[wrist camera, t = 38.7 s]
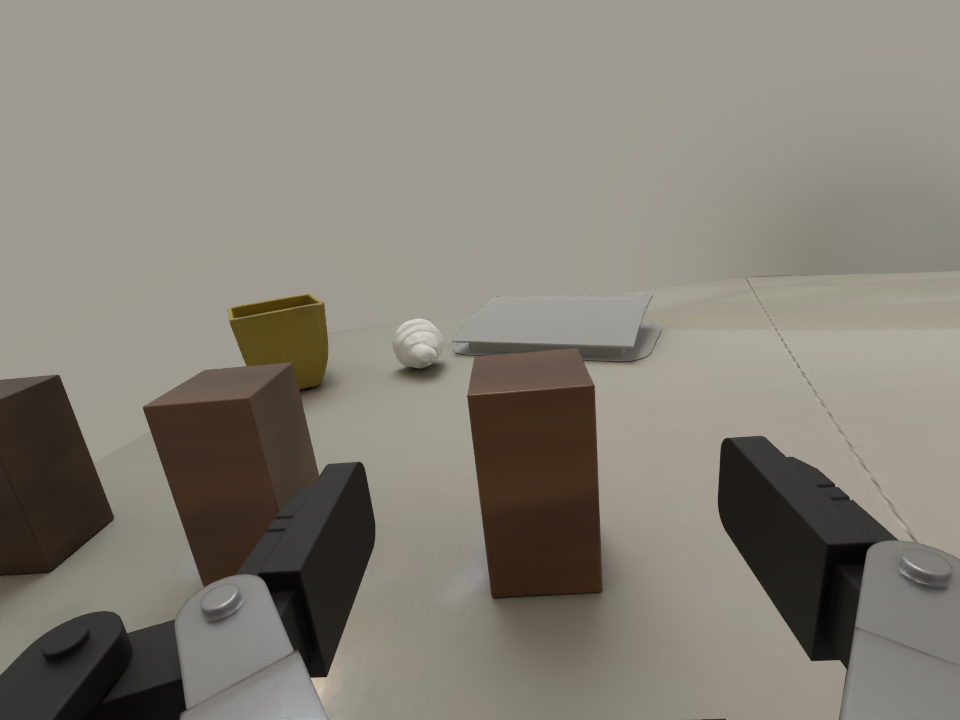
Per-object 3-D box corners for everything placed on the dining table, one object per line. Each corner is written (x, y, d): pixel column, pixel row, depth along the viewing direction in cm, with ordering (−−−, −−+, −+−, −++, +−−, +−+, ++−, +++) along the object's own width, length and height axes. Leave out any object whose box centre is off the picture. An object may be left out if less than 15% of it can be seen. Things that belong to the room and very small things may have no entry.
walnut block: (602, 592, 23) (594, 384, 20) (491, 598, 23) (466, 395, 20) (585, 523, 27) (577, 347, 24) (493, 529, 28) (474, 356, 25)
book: (496, 320, 73) (493, 293, 72) (665, 322, 63) (665, 291, 62) (444, 354, 60) (439, 322, 59) (646, 363, 50) (645, 324, 49)
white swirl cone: (406, 384, 51) (398, 332, 50) (394, 368, 57) (386, 321, 55) (457, 373, 53) (451, 322, 51) (441, 358, 58) (434, 312, 57)
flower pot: (247, 385, 57) (226, 306, 54) (325, 366, 60) (310, 291, 58) (252, 409, 49) (228, 319, 46) (342, 387, 53) (325, 302, 50)
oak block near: (50, 572, 28) (-24, 408, 25) (-33, 577, 29) (-115, 416, 26) (114, 517, 33) (59, 374, 30) (43, 522, 33) (-19, 381, 30)
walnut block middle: (297, 581, 26) (248, 398, 22) (202, 586, 26) (141, 406, 23) (329, 520, 30) (293, 361, 27) (249, 525, 31) (204, 369, 28)
